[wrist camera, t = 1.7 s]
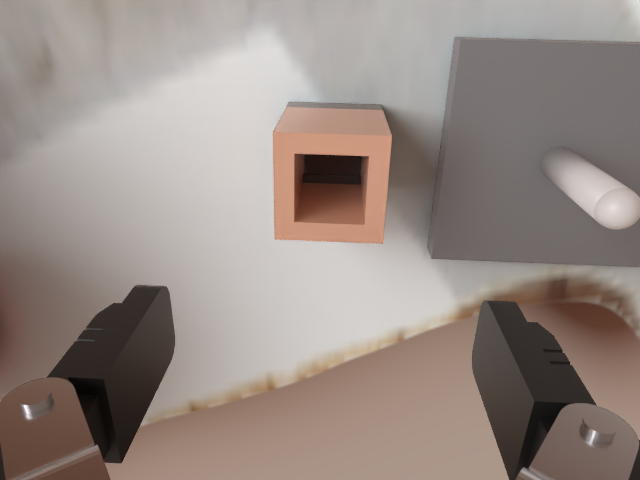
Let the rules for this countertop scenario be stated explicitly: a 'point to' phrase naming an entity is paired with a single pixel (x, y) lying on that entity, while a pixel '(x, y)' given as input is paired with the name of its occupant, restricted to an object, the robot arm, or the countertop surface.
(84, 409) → the robot arm
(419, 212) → the countertop surface
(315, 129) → the sleeve
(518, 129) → the pin board
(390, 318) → the countertop surface
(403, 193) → the countertop surface
